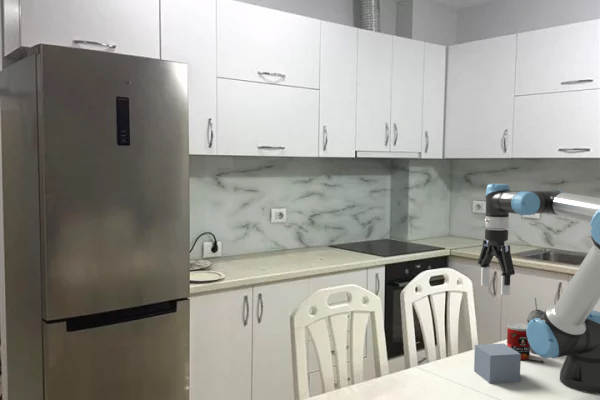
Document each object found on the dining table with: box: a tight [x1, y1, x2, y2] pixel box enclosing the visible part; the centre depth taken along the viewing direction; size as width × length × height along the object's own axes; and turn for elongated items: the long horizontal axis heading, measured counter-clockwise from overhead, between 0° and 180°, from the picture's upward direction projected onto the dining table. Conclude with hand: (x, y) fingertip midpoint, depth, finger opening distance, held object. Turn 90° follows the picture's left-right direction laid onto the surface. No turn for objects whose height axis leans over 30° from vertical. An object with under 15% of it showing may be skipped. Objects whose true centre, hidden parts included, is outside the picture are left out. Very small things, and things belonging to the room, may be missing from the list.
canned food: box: [506, 322, 531, 361], centre depth 193 cm, size 8×8×11 cm
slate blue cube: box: [473, 342, 522, 384], centre depth 175 cm, size 10×10×9 cm
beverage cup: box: [526, 297, 545, 355], centre depth 197 cm, size 7×7×20 cm
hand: (494, 289), depth 188 cm, fingers open, 13 cm apart
